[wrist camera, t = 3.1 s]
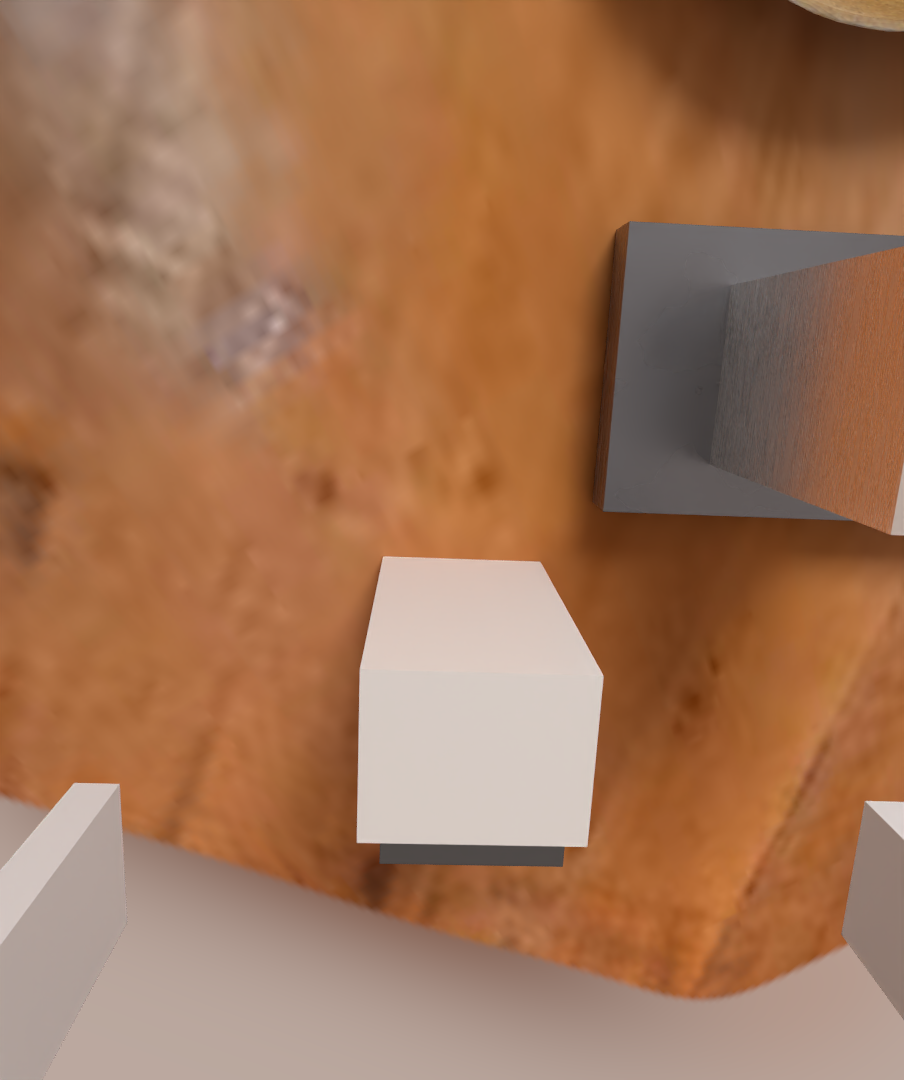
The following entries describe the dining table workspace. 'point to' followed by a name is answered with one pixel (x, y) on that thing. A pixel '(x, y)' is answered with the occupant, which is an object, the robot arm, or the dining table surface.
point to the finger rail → (686, 362)
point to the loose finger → (474, 716)
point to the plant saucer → (860, 12)
